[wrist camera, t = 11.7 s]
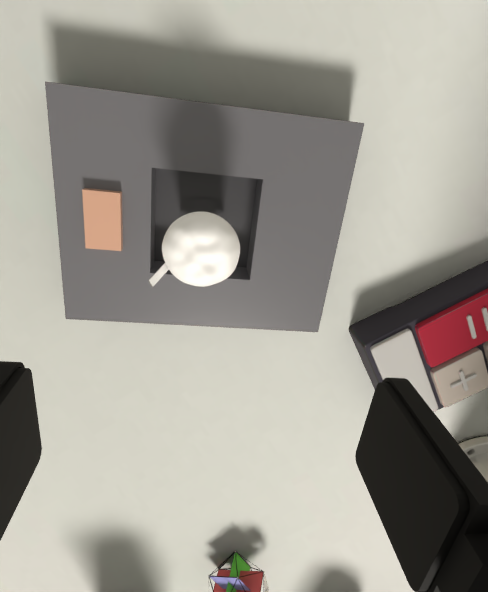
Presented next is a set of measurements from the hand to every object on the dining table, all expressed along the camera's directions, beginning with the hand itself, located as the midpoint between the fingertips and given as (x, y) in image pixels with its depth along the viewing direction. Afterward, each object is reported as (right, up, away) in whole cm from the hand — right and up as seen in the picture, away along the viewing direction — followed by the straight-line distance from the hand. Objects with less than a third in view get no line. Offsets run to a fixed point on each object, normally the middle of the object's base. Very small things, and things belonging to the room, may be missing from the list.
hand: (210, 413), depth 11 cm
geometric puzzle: (0, -31, +39) cm, 50 cm away
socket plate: (-2, +9, +20) cm, 22 cm away
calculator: (+20, 0, +27) cm, 34 cm away
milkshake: (-3, +9, +20) cm, 22 cm away
